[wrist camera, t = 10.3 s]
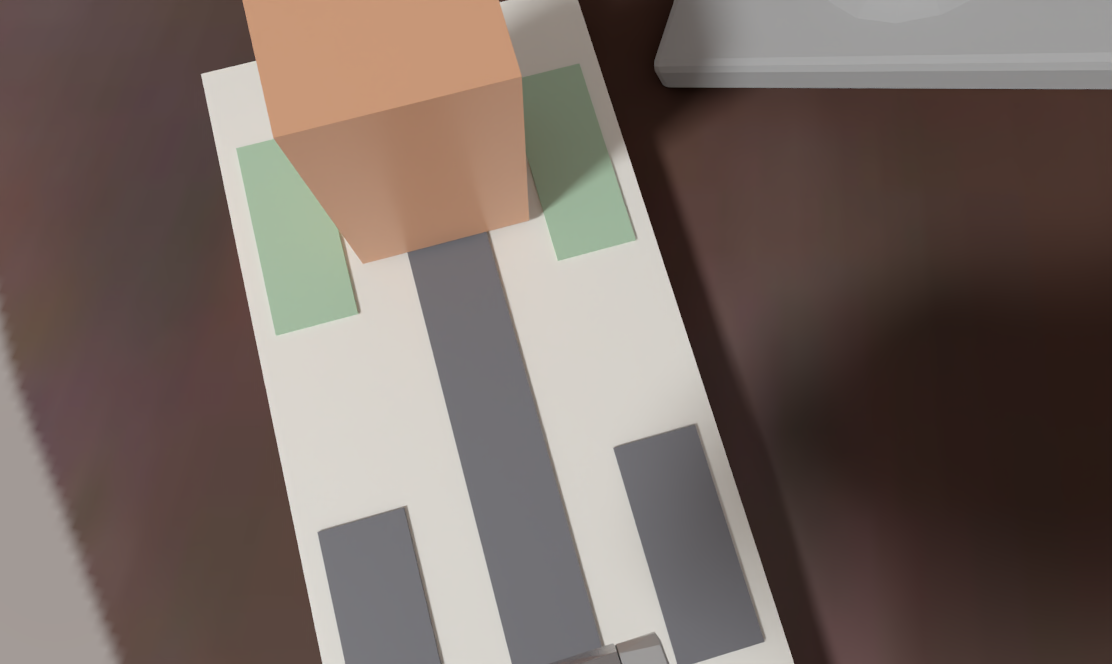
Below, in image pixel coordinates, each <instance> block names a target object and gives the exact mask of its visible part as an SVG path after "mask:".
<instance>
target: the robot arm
mask: <svg viewBox="0 0 1112 664" xmlns="http://www.w3.org/2000/svg"><path fill="white" fill-rule="evenodd" d="M549 664H669V661H668V658H667V656H666V653H665V650H664V648H663V645H662V642H661V640H660V638H659V637H658V636H657V634H656V633H655V632H651V633H648V634H645V635H642V636H639V637H636V638H633V639H630V640H627V641H624V642H621V643H618V644H616V645H615V646H614V643H612V644H609V645H606V646H603V647H600V648H596V649H593V650H590V651H587V652H584V653H581V654H578V655H574V656H571V657H568V658H565V659H562V660H559V661H556V662H552V663H549Z"/></svg>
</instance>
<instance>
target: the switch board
mask: <svg viewBox="0 0 1112 664" xmlns="http://www.w3.org/2000/svg"><path fill="white" fill-rule="evenodd" d="M500 6H501V9H502V12H503V16H504V19H505V22H506V26H507V29H508V32H509V36H510V39H511V42H512V45H513V49H514V52H515V55H516V59H517V62H518V65H519V69H520V72H521V75H522V89H523V108H524V128H525V148H526V167H527V187H528V206H529V221H526V222H522V223H518V224H514V225H510V226H506V227H503V228H499V229H495V230H491V231H487V232H483V233H480V234H476V235H472V236H468V237H464V238H460V239H457V240H453V241H449V242H445V243H441V244H437V245H434V246H430V247H426V248H422V249H418V250H415V251H411V252H407V253H403V254H399V255H395V256H392V257H388V258H384V259H380V260H376V261H372V262H369V263H365V264H363V263H362V262H361V260H360V259H359V258H358V256H357V255H356V253H355V252H354V251H353V249H352V248H351V246H350V245H349V244H348V242H347V241H346V239H345V238H344V237H343V235H342V234H341V232H340V231H339V230H338V228H337V227H336V225H335V224H334V223H333V221H332V220H331V218H330V217H329V216H328V214H327V213H326V211H325V210H324V208H323V207H322V206H321V204H320V203H319V201H318V200H317V199H316V197H315V196H314V194H313V193H312V192H311V190H310V189H309V187H308V186H307V185H306V183H305V182H304V180H303V179H302V178H301V176H300V175H299V173H298V172H297V171H296V169H295V168H294V166H293V165H292V164H291V162H290V161H289V159H288V158H287V157H286V155H285V154H284V152H283V151H282V150H281V148H280V147H279V145H278V144H277V142H276V141H275V140H274V138H273V134H272V130H271V125H270V121H269V116H268V112H267V108H266V103H265V99H264V94H263V90H262V85H261V81H260V76H259V72H258V67H257V63H256V61H254V62H249V63H245V64H241V65H237V66H233V67H229V68H224V69H220V70H216V71H212V72H208V73H204V74H201V76H202V81H203V86H204V90H205V95H206V100H207V105H208V110H209V115H210V120H211V124H212V129H213V134H214V139H215V144H216V149H217V154H218V158H219V163H220V168H221V173H222V178H223V183H224V188H225V192H226V197H227V202H228V207H229V212H230V217H231V222H232V226H233V231H234V236H235V241H236V246H237V251H238V255H239V260H240V265H241V270H242V275H243V280H244V285H245V289H246V294H247V299H248V304H249V309H250V314H251V319H252V323H253V328H254V333H255V338H256V343H257V348H258V353H259V357H260V362H261V367H262V372H263V377H264V382H265V387H266V391H267V396H268V401H269V406H270V411H271V416H272V421H273V425H274V430H275V435H276V440H277V445H278V450H279V455H280V459H281V464H282V469H283V474H284V479H285V484H286V489H287V493H288V498H289V503H290V508H291V513H292V518H293V523H294V527H295V532H296V537H297V542H298V547H299V552H300V557H301V561H302V566H303V571H304V576H305V581H306V586H307V591H308V595H309V600H310V605H311V610H312V615H313V620H314V625H315V629H316V634H317V639H318V644H319V649H320V654H321V658H322V663H323V664H549V663H552V662H556V661H559V660H562V659H565V658H568V657H571V656H574V655H578V654H581V653H584V652H587V651H590V650H593V649H596V648H600V647H603V646H606V645H609V644H612V643H614V646H615V645H616V644H618V643H621V642H624V641H627V640H630V639H633V638H636V637H639V636H642V635H645V634H648V633H651V632H655V633H656V634H657V636H658V637H659V638H660V640H661V642H662V645H663V648H664V650H665V653H666V656H667V658H668V661H669V664H794V661H793V658H792V655H791V652H790V649H789V646H788V643H787V640H786V637H785V634H784V631H783V628H782V625H781V622H780V618H779V615H778V612H777V609H776V606H775V603H774V600H773V597H772V594H771V591H770V588H769V585H768V582H767V579H766V576H765V572H764V569H763V566H762V563H761V560H760V557H759V554H758V551H757V548H756V545H755V542H754V539H753V536H752V533H751V530H750V526H749V523H748V520H747V517H746V514H745V511H744V508H743V505H742V502H741V499H740V496H739V493H738V490H737V487H736V484H735V480H734V477H733V474H732V471H731V468H730V465H729V462H728V459H727V456H726V453H725V450H724V447H723V444H722V441H721V437H720V434H719V431H718V428H717V425H716V422H715V419H714V416H713V413H712V410H711V407H710V404H709V401H708V398H707V395H706V391H705V388H704V385H703V382H702V379H701V376H700V373H699V370H698V367H697V364H696V361H695V358H694V355H693V352H692V349H691V345H690V342H689V339H688V336H687V333H686V330H685V327H684V324H683V321H682V318H681V315H680V312H679V309H678V306H677V303H676V299H675V296H674V293H673V290H672V287H671V284H670V281H669V278H668V275H667V272H666V269H665V266H664V263H663V260H662V257H661V253H660V250H659V247H658V244H657V241H656V238H655V235H654V232H653V229H652V226H651V223H650V220H649V217H648V214H647V211H646V207H645V204H644V201H643V198H642V195H641V192H640V189H639V186H638V183H637V180H636V177H635V174H634V171H633V168H632V165H631V161H630V158H629V155H628V152H627V149H626V146H625V143H624V140H623V137H622V134H621V131H620V128H619V125H618V122H617V119H616V115H615V112H614V109H613V106H612V103H611V100H610V97H609V94H608V91H607V88H606V85H605V82H604V79H603V76H602V72H601V69H600V66H599V63H598V60H597V57H596V54H595V51H594V48H593V45H592V42H591V39H590V36H589V33H588V30H587V26H586V23H585V20H584V17H583V14H582V11H581V8H580V5H579V2H578V0H508V1H504V2H500Z"/></svg>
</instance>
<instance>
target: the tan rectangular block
mask: <svg viewBox="0 0 1112 664" xmlns="http://www.w3.org/2000/svg"><path fill="white" fill-rule="evenodd" d="M243 5H244V9H245V13H246V18H247V22H248V27H249V31H250V36H251V40H252V45H253V49H254V54H255V58H256V63H257V67H258V72H259V76H260V81H261V85H262V90H263V94H264V99H265V103H266V108H267V112H268V116H269V121H270V125H271V130H272V134H273V138H274V140H275V141H276V142H277V144H278V145H279V147H280V148H281V150H282V151H283V152H284V154H285V155H286V157H287V158H288V159H289V161H290V162H291V164H292V165H293V166H294V168H295V169H296V171H297V172H298V173H299V175H300V176H301V178H302V179H303V180H304V182H305V183H306V185H307V186H308V187H309V189H310V190H311V192H312V193H313V194H314V196H315V197H316V199H317V200H318V201H319V203H320V204H321V206H322V207H323V208H324V210H325V211H326V213H327V214H328V216H329V217H330V218H331V220H332V221H333V223H334V224H335V225H336V227H337V228H338V230H339V231H340V232H341V234H342V235H343V237H344V238H345V239H346V241H347V242H348V244H349V245H350V246H351V248H352V249H353V251H354V252H355V253H356V255H357V256H358V258H359V259H360V260H361V262H362V263H363V264H365V263H369V262H372V261H376V260H380V259H384V258H388V257H392V256H395V255H399V254H403V253H407V252H411V251H415V250H418V249H422V248H426V247H430V246H434V245H437V244H441V243H445V242H449V241H453V240H457V239H460V238H464V237H468V236H472V235H476V234H480V233H483V232H487V231H491V230H495V229H499V228H503V227H506V226H510V225H514V224H518V223H522V222H526V221H529V206H528V187H527V167H526V148H525V128H524V108H523V89H522V75H521V72H520V69H519V65H518V62H517V59H516V55H515V52H514V49H513V45H512V42H511V39H510V36H509V32H508V29H507V26H506V22H505V19H504V16H503V12H502V9H501V6H500V2H499V0H243Z"/></svg>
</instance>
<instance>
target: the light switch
mask: <svg viewBox="0 0 1112 664" xmlns="http://www.w3.org/2000/svg"><path fill="white" fill-rule="evenodd" d="M654 68H655V72H656V74H657V76H658V77H659V79H660V81H661V83H662V84H663V85H664V86H666V87H707V88H947V89H1112V0H674V3H673V6H672V9H671V12H670V15H669V18H668V21H667V24H666V27H665V30H664V33H663V36H662V39H661V42H660V45H659V48H658V51H657V54H656V57H655V61H654Z"/></svg>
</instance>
